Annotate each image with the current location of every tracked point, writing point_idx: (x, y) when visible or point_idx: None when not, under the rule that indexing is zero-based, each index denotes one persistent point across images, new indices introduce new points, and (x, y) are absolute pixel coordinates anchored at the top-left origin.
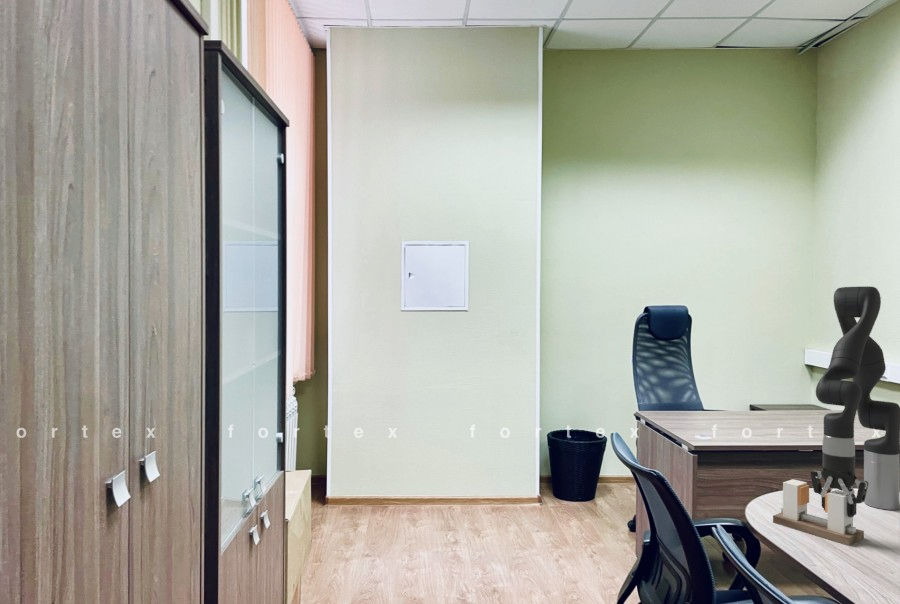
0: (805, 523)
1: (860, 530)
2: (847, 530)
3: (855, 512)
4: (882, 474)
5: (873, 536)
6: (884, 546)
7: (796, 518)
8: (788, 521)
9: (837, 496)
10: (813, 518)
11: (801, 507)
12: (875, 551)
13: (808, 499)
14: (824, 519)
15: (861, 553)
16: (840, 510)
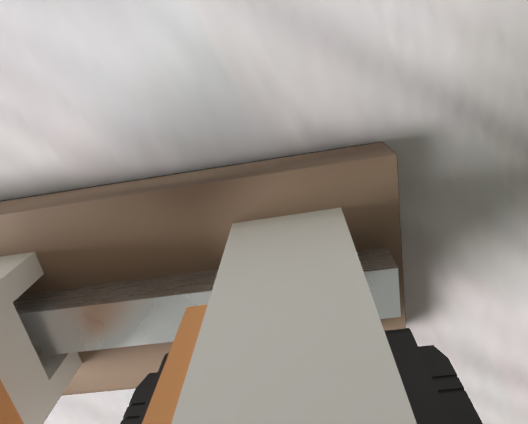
0: (135, 363)
1: (377, 168)
2: None
3: (448, 377)
4: None
5: (392, 15)
6: (520, 144)
7: (72, 374)
8: (66, 390)
9: None
10: (136, 343)
11: (13, 378)
12: (514, 270)
13: None
14: (183, 308)
15: (477, 354)
16: None
